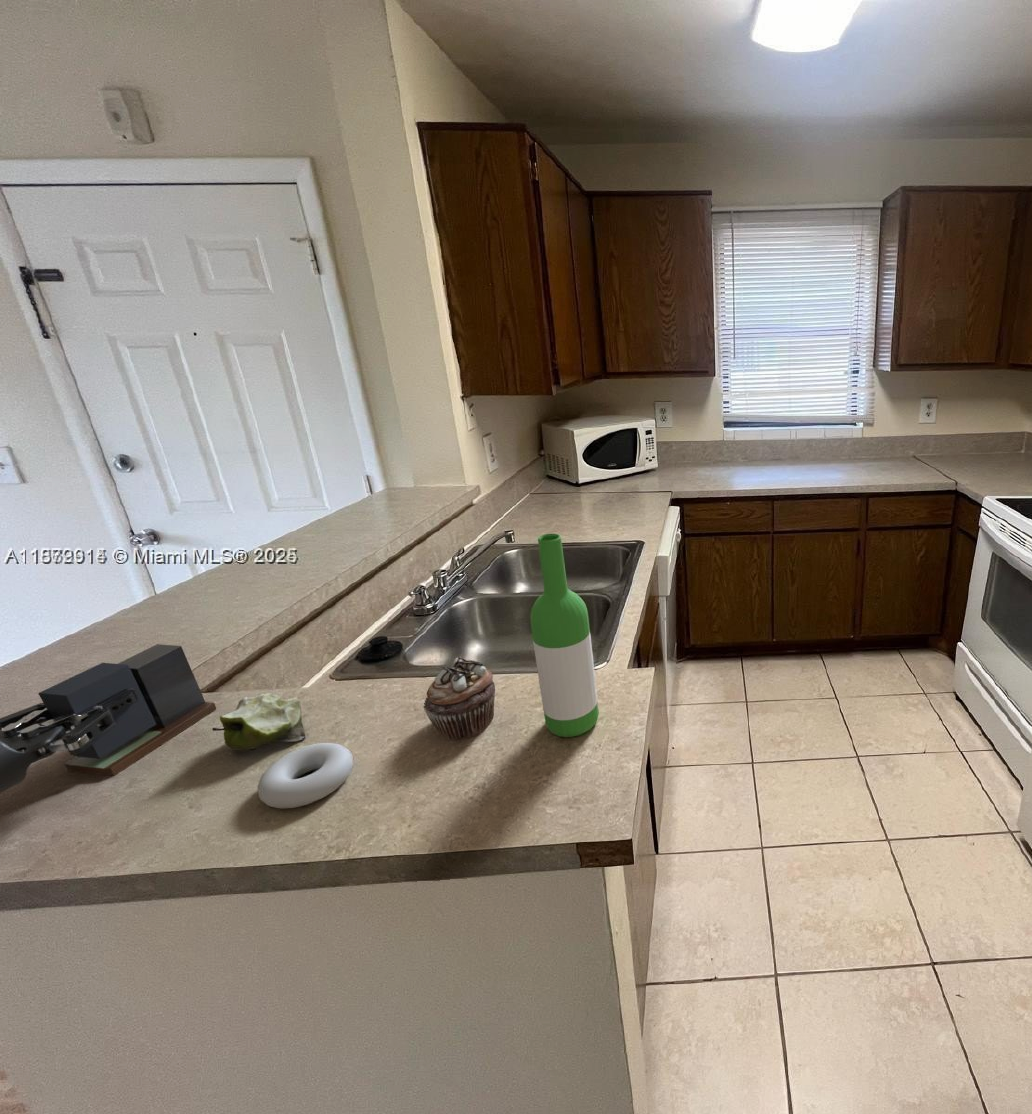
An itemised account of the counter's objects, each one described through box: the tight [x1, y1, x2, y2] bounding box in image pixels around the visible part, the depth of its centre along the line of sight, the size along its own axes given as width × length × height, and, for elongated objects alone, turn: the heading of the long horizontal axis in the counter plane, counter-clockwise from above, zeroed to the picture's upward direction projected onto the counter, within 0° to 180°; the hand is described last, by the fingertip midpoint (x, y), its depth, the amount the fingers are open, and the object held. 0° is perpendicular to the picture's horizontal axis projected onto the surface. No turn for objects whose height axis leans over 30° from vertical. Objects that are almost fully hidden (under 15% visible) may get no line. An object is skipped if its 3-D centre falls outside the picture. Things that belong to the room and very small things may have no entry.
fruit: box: [211, 692, 306, 752], centre depth 80 cm, size 9×9×8 cm
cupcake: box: [423, 656, 496, 741], centre depth 83 cm, size 10×10×10 cm
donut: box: [257, 742, 354, 810], centre depth 73 cm, size 10×4×10 cm
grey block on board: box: [64, 643, 217, 776], centre depth 79 cm, size 7×14×11 cm, turn 173°
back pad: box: [37, 662, 156, 759], centre depth 75 cm, size 7×4×10 cm, turn 173°
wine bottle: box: [529, 533, 600, 738], centre depth 80 cm, size 8×8×30 cm
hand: (118, 692), depth 77 cm, fingers closed on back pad, 4 cm apart
